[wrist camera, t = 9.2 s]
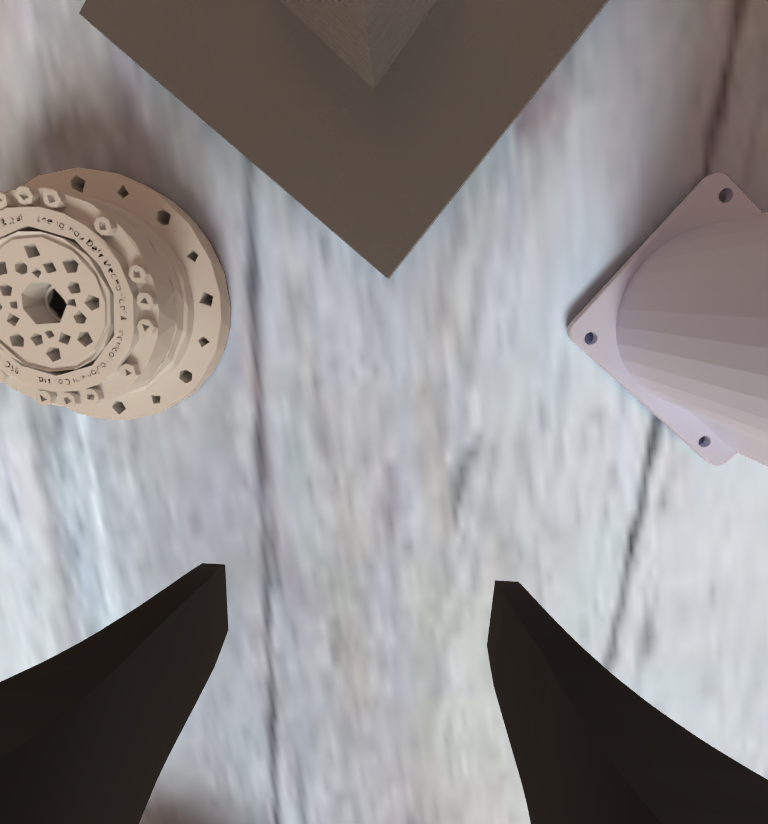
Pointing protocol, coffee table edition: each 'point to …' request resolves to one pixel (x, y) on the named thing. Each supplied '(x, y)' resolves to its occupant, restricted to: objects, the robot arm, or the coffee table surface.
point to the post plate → (353, 99)
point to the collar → (363, 29)
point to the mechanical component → (106, 296)
